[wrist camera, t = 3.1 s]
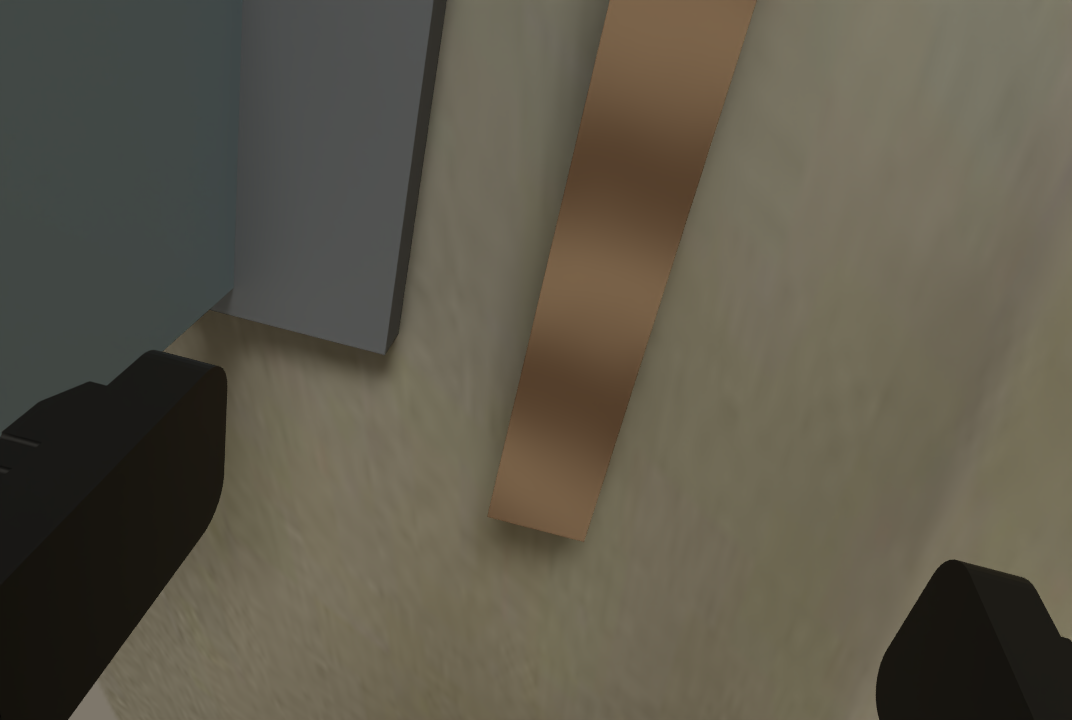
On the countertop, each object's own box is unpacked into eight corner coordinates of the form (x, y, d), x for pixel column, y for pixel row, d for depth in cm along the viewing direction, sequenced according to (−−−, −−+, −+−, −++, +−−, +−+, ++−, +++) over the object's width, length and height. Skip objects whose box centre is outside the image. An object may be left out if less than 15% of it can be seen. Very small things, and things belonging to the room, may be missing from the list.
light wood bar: (715, -422, 18) (724, -484, 15) (860, -387, 18) (897, -442, 15) (505, 453, 30) (487, 516, 27) (592, 476, 30) (583, 541, 27)
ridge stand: (481, -246, 20) (274, -392, 10) (398, 333, 28) (235, 593, 18) (-1, -362, 20) (-703, -624, 10) (51, 244, 28) (-309, 448, 18)
